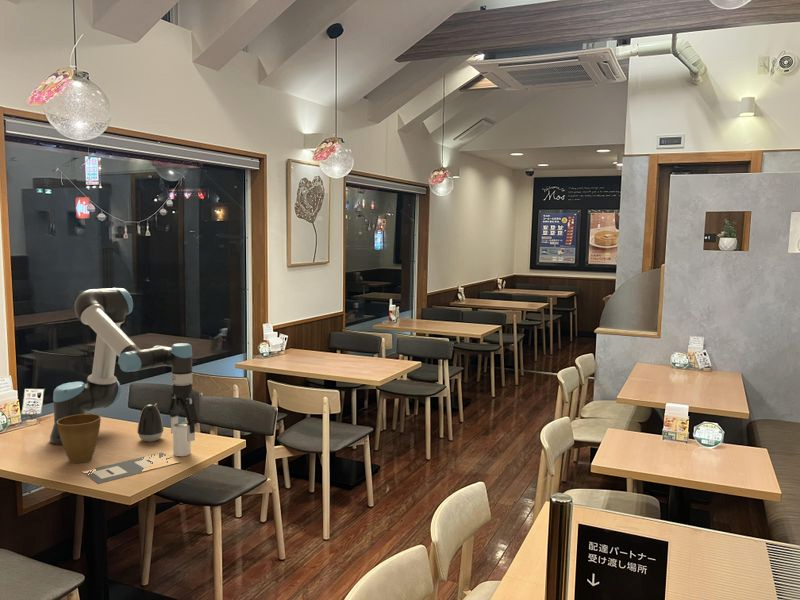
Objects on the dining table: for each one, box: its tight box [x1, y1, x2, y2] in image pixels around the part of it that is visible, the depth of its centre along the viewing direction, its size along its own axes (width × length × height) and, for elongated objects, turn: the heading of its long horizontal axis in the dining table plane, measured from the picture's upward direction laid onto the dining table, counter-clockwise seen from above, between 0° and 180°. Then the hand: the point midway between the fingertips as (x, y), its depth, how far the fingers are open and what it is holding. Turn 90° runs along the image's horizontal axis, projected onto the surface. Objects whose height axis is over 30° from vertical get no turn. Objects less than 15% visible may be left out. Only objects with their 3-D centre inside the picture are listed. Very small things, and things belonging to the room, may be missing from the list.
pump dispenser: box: [136, 403, 165, 443], centre depth 261 cm, size 10×10×15 cm
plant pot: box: [57, 413, 102, 464], centre depth 236 cm, size 15×15×16 cm
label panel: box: [83, 452, 172, 485], centre depth 230 cm, size 16×30×1 cm, turn 136°
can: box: [172, 422, 192, 457], centre depth 244 cm, size 6×6×12 cm
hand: (182, 436), depth 243 cm, fingers open, 13 cm apart
